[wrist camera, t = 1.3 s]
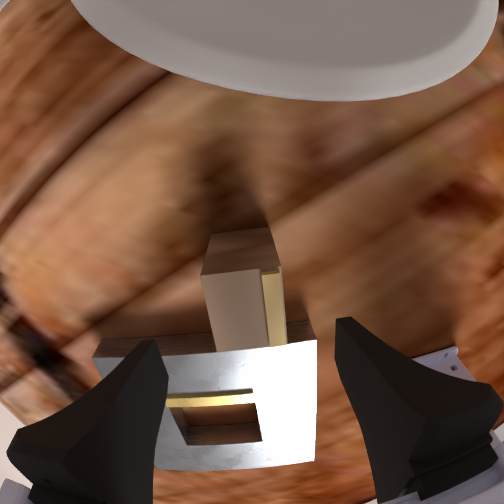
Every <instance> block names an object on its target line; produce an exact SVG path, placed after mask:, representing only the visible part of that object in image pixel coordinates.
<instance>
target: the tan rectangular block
mask: <svg viewBox="0 0 504 504" xmlns="http://www.w3.org/2000/svg"><path fill="white" fill-rule="evenodd" d="M200 277H201V282H202V287H203V292H204V296H205V301H206V305H207V310H208V315H209V319H210V324H211V328H212V332H213V337H214V341H215V345H216V349H217V352H228V351H238V350H247V349H256V348H264V347H277V346H284V345H287V344H288V343H287V330H286V318H285V306H284V294H283V282H282V271H281V264H280V261H279V257H278V254H277V251H276V247H275V244H274V241H273V237H272V234H271V231H270V228H269V227H263V228H255V229H247V230H239V231H232V232H224V233H216V234H211V237H210V241H209V245H208V248H207V252H206V256H205V259H204V263H203V267H202V271H201V275H200Z"/></svg>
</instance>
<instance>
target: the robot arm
mask: <svg viewBox="0 0 504 504" xmlns="http://www.w3.org/2000/svg"><path fill="white" fill-rule="evenodd" d="M457 353H458V348H457V347H456V346H453V347H450V348H447V349H444V350H440V351H437V352H434V353H431V354H427V355H424V356H420V357H417V358H413V359H410V358H408V357H407V356H405V355H403V354H401V353H400V352H398V351H397V350H395V349H393V348H392V347H390V346H389V345H387V344H386V343H385V342H383V341H382V340H380V339H379V338H378V337H376V336H375V335H374V334H372V333H371V332H370V331H368V330H367V329H366V328H365V327H363V326H362V325H361V324H360V323H358V322H357V321H356V320H355V319H353V318H352V317H351V316H350V317H344V318H338V319H336V331H335V361H336V365H337V369H338V372H339V376H340V379H341V381H342V384H343V386H344V388H345V391H346V393H347V396H348V398H349V400H350V402H351V405H352V407H353V410H354V412H355V414H356V417H357V419H358V422H359V424H360V427H361V430H362V434H363V438H364V441H365V445H366V449H367V453H368V457H369V461H370V465H371V470H372V475H373V480H374V485H375V491H376V497H377V502H378V504H504V441H503V442H501V441H500V440H499V438H498V437H497V435H496V434H495V433H494V431H493V430H492V427H493V426H494V424H495V422H496V421H497V419H498V417H499V416H500V414H501V411H502V408H503V401H502V399H501V398H500V397H499V395H498V394H497V393H496V391H495V390H494V389H493V387H492V386H491V385H490V384H487V383H481V382H477V381H476V380H475V379H474V377H473V376H472V375H471V374H470V372H469V371H468V370H467V368H466V367H465V366H464V365H463V363H462V362H461V361H460V359H459V358H458V357H457ZM168 381H169V375H168V373H167V370H166V367H165V365H164V362H163V359H162V356H161V354H160V351H159V348H158V345H157V342H156V340H142V341H141V342H140V343H139V344H138V345H137V346H136V347H135V348H134V349H133V350H132V351H131V352H130V353H129V354H128V355H127V356H126V357H125V358H124V359H123V360H122V361H121V362H120V363H119V364H118V365H117V366H116V367H115V368H114V369H113V370H112V371H111V372H110V373H109V374H108V375H107V376H106V377H105V378H104V379H103V380H102V381H101V382H99V383H98V384H97V385H96V386H95V387H94V388H93V389H91V390H90V391H89V392H88V393H86V394H85V395H84V396H82V397H81V398H80V399H78V400H77V401H75V402H73V403H72V404H70V405H69V406H67V407H66V408H64V409H62V410H61V411H59V412H57V413H55V414H53V415H52V416H49V417H47V418H45V419H43V420H41V421H39V422H36V423H34V424H31V425H28V426H26V427H23V428H20V429H18V430H17V432H16V434H15V436H14V438H13V439H12V441H11V444H10V445H9V447H8V449H7V452H6V453H7V456H8V458H9V460H10V462H11V463H12V464H13V465H14V466H15V467H16V468H17V469H18V470H19V471H20V472H21V473H22V474H23V475H24V476H25V477H26V478H27V479H28V480H29V481H30V482H32V483H33V486H32V488H31V489H29V488H28V487H26V486H24V485H22V484H19V483H16V482H14V481H12V480H9V479H5V480H4V482H3V484H2V487H1V489H0V504H153V470H154V457H155V448H156V442H157V437H158V433H159V428H160V424H161V420H162V416H163V412H164V407H165V403H166V399H167V391H168Z"/></svg>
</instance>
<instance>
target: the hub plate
mask: <svg viewBox="0 0 504 504" xmlns="http://www.w3.org/2000/svg"><path fill="white" fill-rule="evenodd" d="M286 330H287V343H288V344H287V345H284V346H277V347H264V348H256V349H247V350H238V351H228V352H217V349H216V345H215V341H214V337H213V332H207V333H196V334H184V335H171V336H156V337H139V338H118V339H102V340H101V342H100V344H99V346H98V347H97V349H96V351H95V353H94V355H93V356H92V359H93V361H94V363H95V365H96V367H97V369H98V371H99V373H100V375H101V377H102V379H104V378H105V377H106V376H107V375H108V374H109V373H110V372H111V371H112V370H113V369H114V368H115V367H116V366H117V365H118V364H119V363H120V362H121V361H122V360H123V359H124V358H125V357H126V356H127V355H128V354H129V353H130V352H131V351H132V350H133V349H134V348H135V347H136V346H137V345H138V344H139V343H140V342H141V341H142V340H156V342H157V345H158V348H159V351H160V354H161V356H162V359H163V362H164V365H165V367H166V370H167V373H168V375H169V381H168V391H167V399H166V403H165V407H164V412H163V416H162V420H161V424H160V428H159V433H158V437H157V442H156V448H155V457H154V465H155V466H156V468H157V469H161V470H195V471H200V470H234V469H250V468H261V467H271V466H280V465H288V464H295V463H301V462H308V461H314V451H315V426H316V378H317V345H316V337H315V334H314V331H313V328H312V326H311V323H310V320H306V321H300V322H293V323H286ZM252 402H256V407H257V413H258V418H259V422H253V423H242V424H229V425H212V426H189V424H188V422H187V419H186V417H185V415H184V412H183V410H182V408H181V407H197V406H216V405H230V404H242V403H252Z"/></svg>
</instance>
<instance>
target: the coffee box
mask: <svg viewBox="0 0 504 504" xmlns="http://www.w3.org/2000/svg"><path fill="white" fill-rule="evenodd" d="M10 1H11V0H0V11H1V10H2V9H3V8H4V7H5V6H6V5H7V4H8V3H9V2H10Z"/></svg>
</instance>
